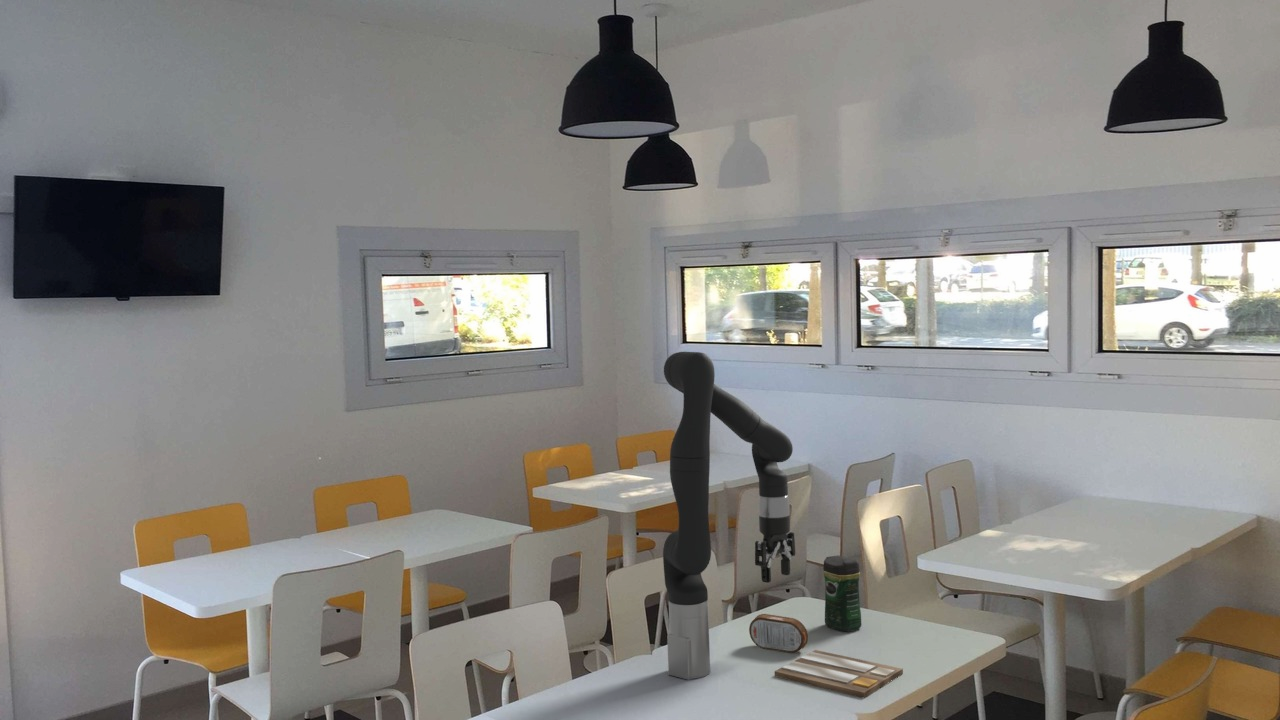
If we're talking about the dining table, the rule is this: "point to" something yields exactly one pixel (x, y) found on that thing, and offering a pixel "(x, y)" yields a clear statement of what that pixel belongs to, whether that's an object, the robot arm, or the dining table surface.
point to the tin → (778, 633)
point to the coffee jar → (842, 593)
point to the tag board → (839, 673)
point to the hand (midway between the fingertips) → (776, 578)
